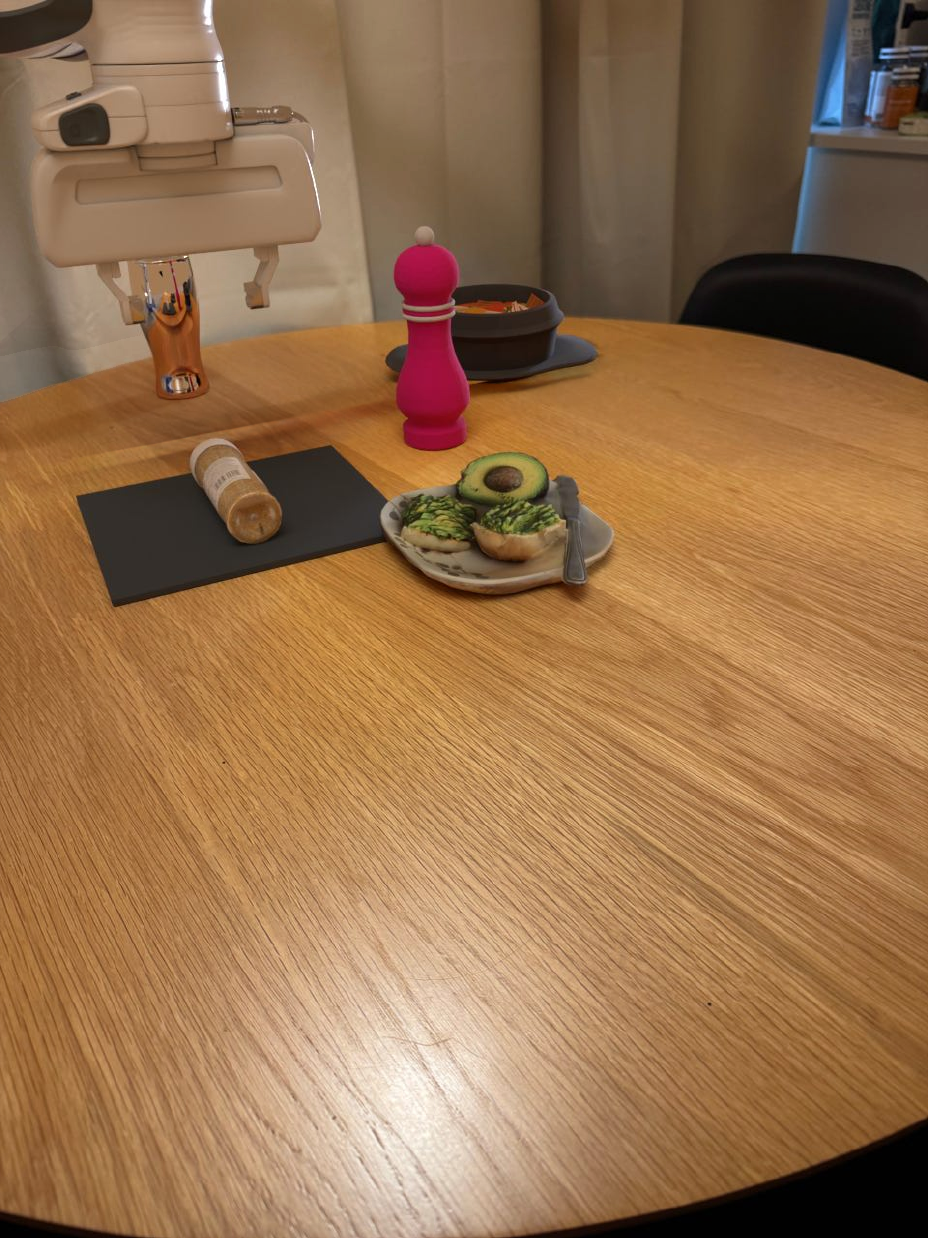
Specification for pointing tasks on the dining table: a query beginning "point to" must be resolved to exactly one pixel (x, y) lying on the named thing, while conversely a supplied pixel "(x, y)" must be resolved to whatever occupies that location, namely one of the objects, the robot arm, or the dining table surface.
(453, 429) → the pepper mill
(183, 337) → the beer glass
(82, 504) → the slate mat
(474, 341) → the casserole
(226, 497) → the spice jar
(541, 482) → the avocado toast plate
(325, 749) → the dining table surface
